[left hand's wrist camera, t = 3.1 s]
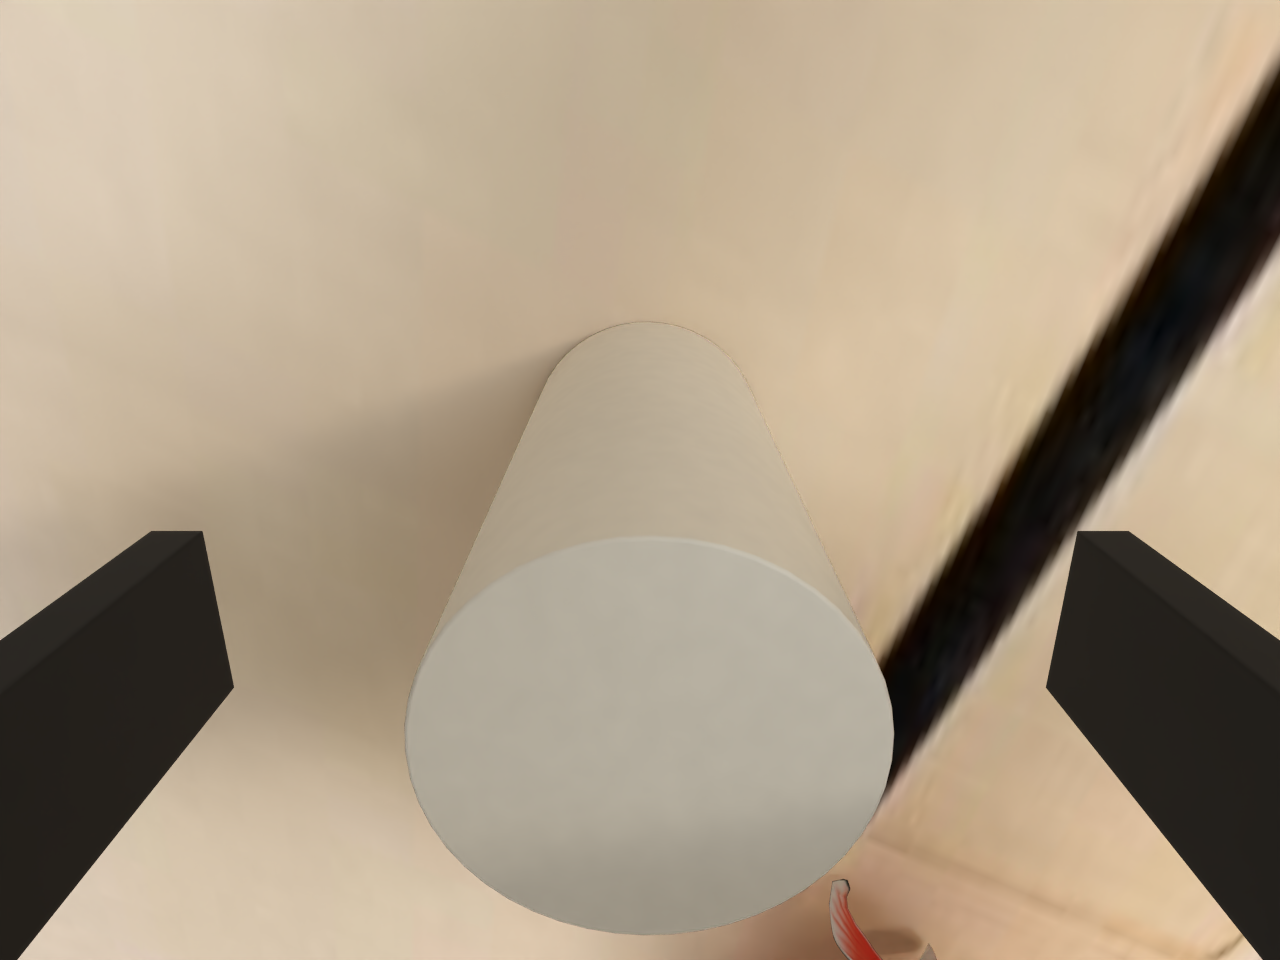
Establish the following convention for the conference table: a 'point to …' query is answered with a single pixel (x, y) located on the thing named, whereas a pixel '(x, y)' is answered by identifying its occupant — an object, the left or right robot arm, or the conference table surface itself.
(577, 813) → the cylinder
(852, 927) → the fish
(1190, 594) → the left robot arm
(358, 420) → the conference table surface
